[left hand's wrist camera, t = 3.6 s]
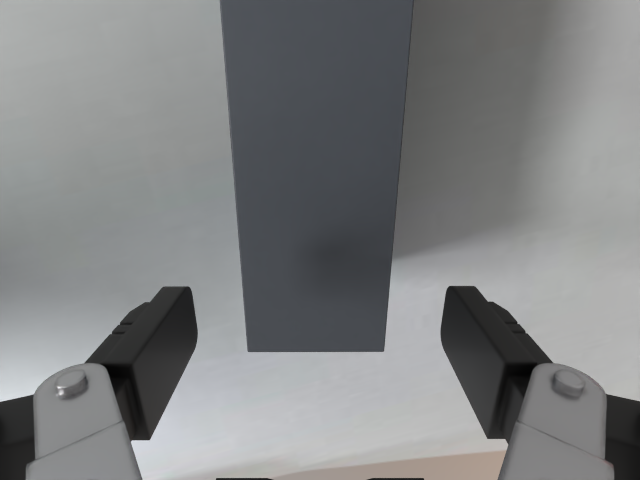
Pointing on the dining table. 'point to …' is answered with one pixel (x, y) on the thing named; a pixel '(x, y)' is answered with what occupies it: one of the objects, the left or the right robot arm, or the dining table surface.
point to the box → (316, 165)
